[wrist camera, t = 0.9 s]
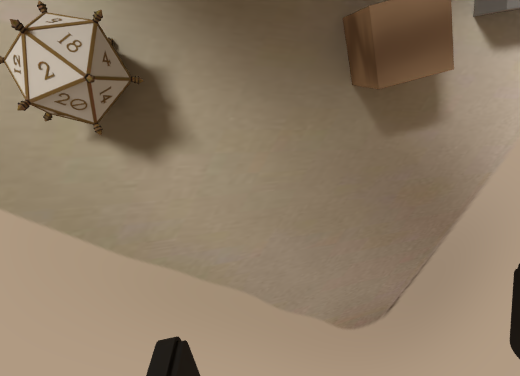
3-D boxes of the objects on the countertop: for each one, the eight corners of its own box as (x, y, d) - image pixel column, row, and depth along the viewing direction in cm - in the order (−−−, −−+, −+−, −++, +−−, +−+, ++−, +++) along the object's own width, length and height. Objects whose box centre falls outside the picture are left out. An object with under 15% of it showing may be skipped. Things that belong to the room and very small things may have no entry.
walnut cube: (342, 18, 28) (369, 5, 22) (406, 0, 27) (450, -17, 22) (352, 84, 29) (379, 89, 24) (412, 68, 29) (453, 69, 24)
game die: (130, 63, 31) (181, 77, 24) (72, 135, 30) (109, 170, 23) (34, -26, 24) (69, -41, 18) (-44, 63, 23) (-39, 82, 17)
